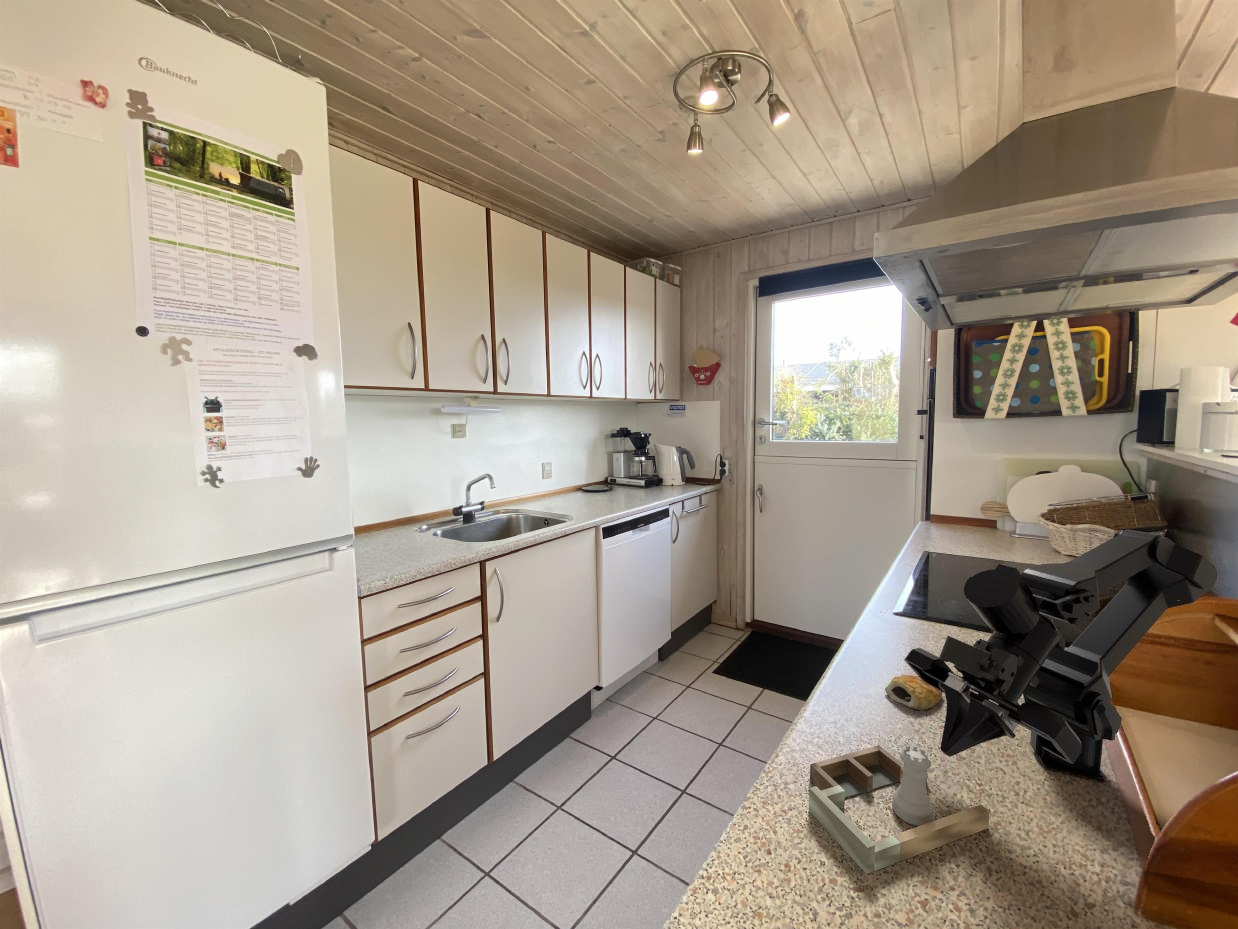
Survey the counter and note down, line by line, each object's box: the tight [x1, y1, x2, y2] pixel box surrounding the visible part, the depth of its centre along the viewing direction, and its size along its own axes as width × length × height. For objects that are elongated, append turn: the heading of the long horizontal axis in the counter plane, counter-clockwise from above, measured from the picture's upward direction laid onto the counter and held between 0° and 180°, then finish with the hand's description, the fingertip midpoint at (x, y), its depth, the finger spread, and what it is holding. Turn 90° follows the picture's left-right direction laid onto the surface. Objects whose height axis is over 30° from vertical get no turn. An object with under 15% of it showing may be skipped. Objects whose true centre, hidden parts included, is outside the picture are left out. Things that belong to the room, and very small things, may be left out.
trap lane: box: [808, 744, 990, 875], centre depth 62 cm, size 18×13×3 cm
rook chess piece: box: [891, 745, 935, 827], centre depth 60 cm, size 4×4×8 cm
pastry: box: [884, 674, 944, 711], centre depth 86 cm, size 9×7×4 cm
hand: (944, 753), depth 62 cm, fingers closed
